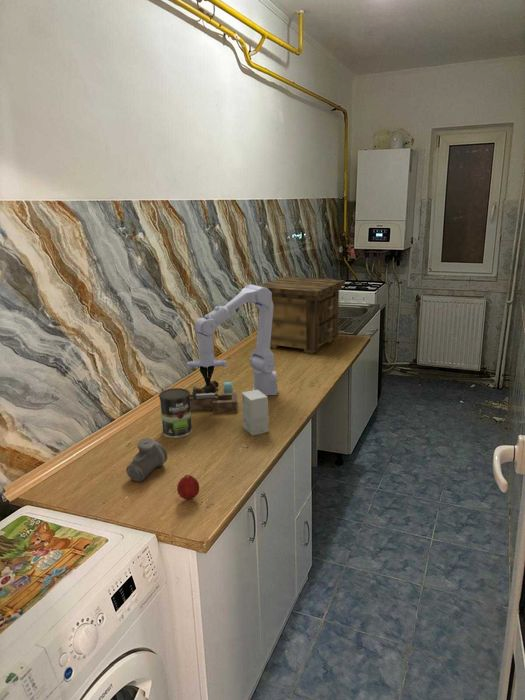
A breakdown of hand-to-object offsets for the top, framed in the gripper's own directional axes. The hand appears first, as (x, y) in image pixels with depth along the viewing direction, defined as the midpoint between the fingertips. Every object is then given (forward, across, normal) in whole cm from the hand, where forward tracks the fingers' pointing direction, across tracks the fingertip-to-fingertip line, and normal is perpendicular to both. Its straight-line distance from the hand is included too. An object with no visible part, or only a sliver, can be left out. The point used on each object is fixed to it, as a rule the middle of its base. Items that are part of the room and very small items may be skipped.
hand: (208, 385), depth 193 cm
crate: (+10, +44, +81) cm, 93 cm away
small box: (+10, +17, -20) cm, 28 cm away
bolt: (+10, -2, +14) cm, 17 cm away
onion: (+10, -2, -61) cm, 62 cm away
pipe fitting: (+10, -16, -46) cm, 50 cm away
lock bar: (+5, -2, 0) cm, 5 cm away
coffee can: (+10, -10, -19) cm, 24 cm away
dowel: (+9, +7, +10) cm, 15 cm away
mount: (+9, +2, 0) cm, 10 cm away
